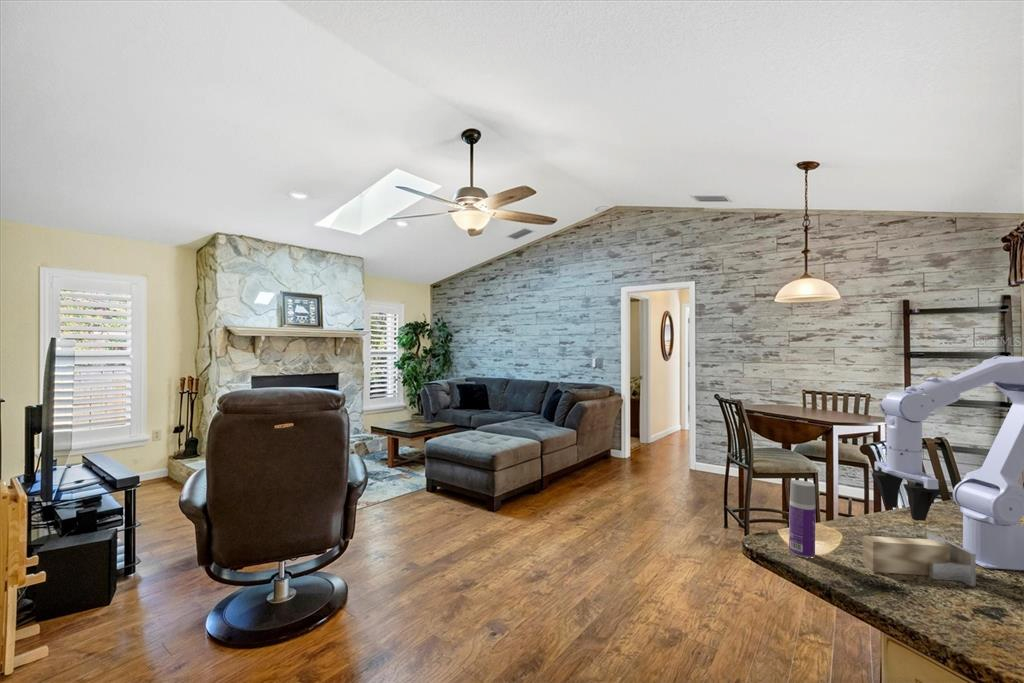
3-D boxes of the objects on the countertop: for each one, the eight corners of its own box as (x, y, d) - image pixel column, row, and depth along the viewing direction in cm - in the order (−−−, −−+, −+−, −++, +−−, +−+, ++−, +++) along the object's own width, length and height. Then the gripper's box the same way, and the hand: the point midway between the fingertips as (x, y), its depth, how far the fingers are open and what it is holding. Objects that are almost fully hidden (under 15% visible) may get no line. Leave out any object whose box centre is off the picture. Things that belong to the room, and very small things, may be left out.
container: (819, 559, 94) (820, 487, 94) (794, 557, 95) (795, 485, 95) (809, 550, 99) (810, 480, 99) (785, 547, 100) (786, 479, 100)
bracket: (933, 561, 95) (933, 532, 95) (978, 586, 85) (978, 554, 85) (901, 559, 95) (901, 530, 95) (941, 584, 85) (942, 551, 85)
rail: (936, 570, 91) (936, 539, 91) (949, 577, 88) (949, 546, 88) (862, 565, 92) (862, 535, 93) (872, 572, 90) (873, 541, 90)
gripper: (860, 441, 104) (860, 501, 104) (911, 456, 90) (911, 525, 89) (893, 442, 104) (893, 502, 103) (949, 457, 89) (949, 527, 89)
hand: (904, 513), depth 96 cm, fingers open, 7 cm apart
